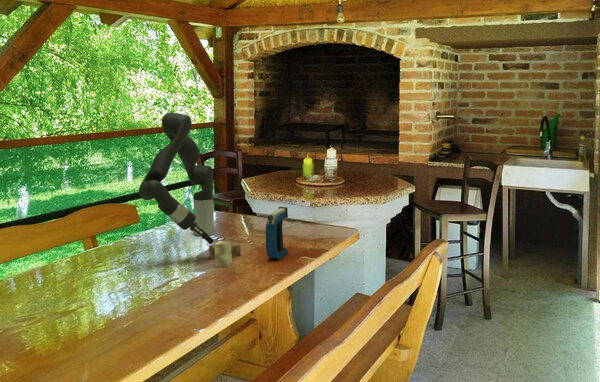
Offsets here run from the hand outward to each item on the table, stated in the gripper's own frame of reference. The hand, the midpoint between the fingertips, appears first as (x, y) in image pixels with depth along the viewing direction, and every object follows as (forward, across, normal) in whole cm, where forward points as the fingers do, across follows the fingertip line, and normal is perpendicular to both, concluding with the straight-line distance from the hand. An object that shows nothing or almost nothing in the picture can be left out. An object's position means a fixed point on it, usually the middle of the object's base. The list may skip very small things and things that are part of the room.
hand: (211, 242), depth 259 cm
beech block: (+6, -12, +4) cm, 13 cm away
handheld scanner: (+22, -10, -13) cm, 28 cm away
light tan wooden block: (+3, 0, +4) cm, 5 cm away
